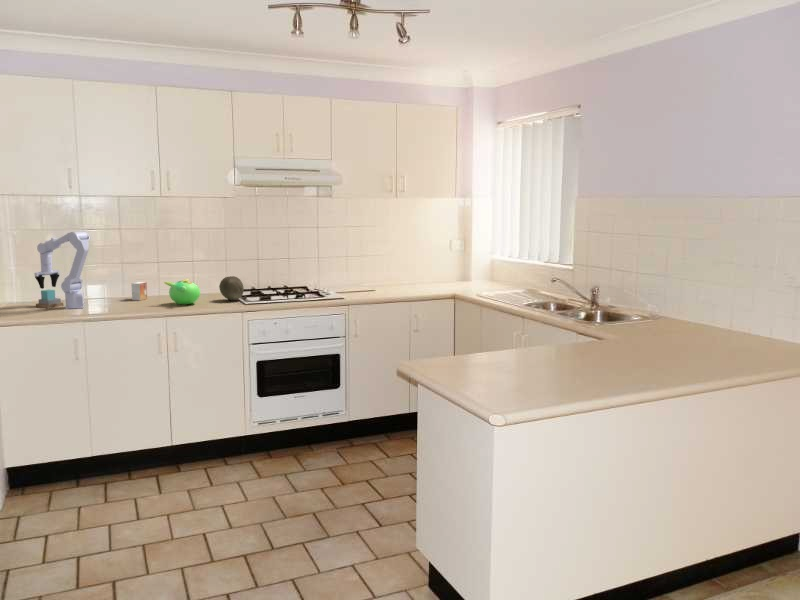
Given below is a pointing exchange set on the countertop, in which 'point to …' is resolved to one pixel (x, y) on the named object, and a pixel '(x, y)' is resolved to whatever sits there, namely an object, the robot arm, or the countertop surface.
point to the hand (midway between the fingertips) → (48, 287)
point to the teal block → (47, 294)
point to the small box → (139, 291)
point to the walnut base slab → (49, 305)
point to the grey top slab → (50, 301)
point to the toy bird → (183, 292)
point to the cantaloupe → (231, 288)
